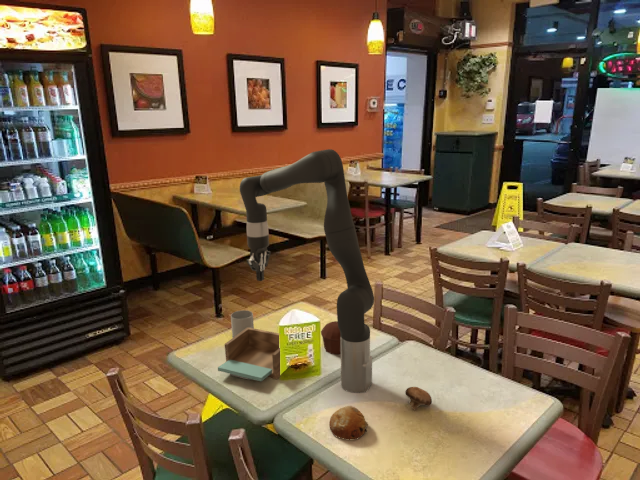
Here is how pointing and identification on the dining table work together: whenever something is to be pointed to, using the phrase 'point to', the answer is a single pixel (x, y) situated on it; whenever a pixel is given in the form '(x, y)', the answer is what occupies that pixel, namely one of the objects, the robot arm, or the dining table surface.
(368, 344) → the robot arm
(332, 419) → the bread roll
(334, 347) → the muffin
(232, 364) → the panel
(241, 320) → the cup
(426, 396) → the mushroom
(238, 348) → the box
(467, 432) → the dining table surface
